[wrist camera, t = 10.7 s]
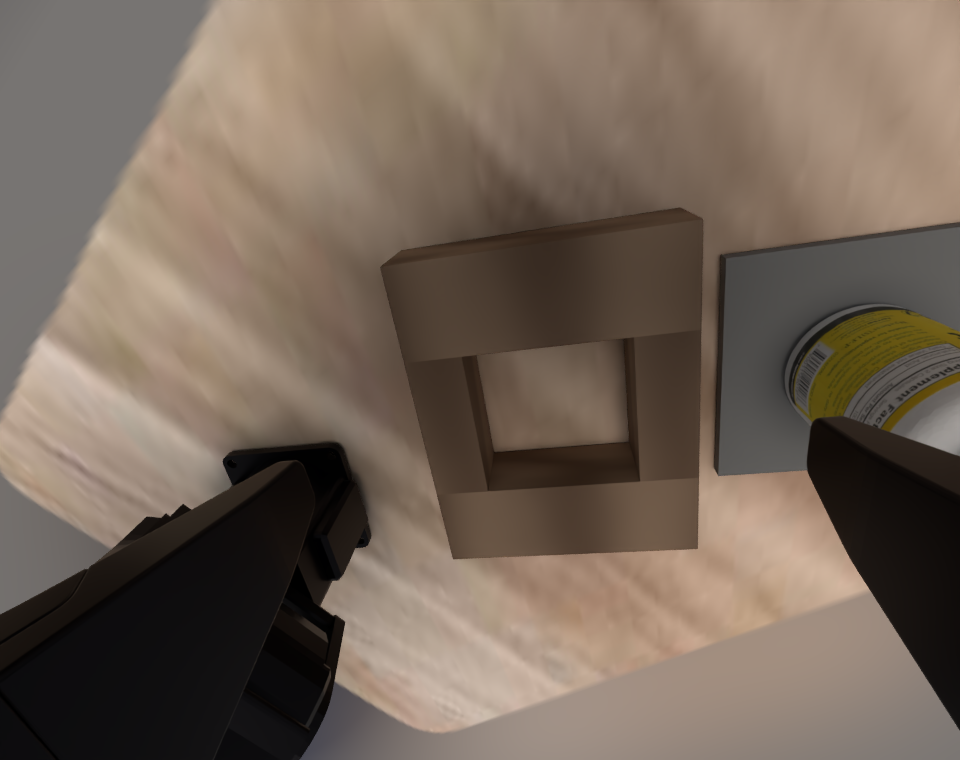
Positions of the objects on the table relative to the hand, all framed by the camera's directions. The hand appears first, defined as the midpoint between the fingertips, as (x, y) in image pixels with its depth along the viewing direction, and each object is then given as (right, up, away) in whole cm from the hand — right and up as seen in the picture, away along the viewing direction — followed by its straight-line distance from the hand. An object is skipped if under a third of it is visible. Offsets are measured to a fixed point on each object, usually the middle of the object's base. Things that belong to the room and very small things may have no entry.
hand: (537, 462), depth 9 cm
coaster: (+14, +2, +12) cm, 18 cm away
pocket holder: (+2, +1, +14) cm, 14 cm away
